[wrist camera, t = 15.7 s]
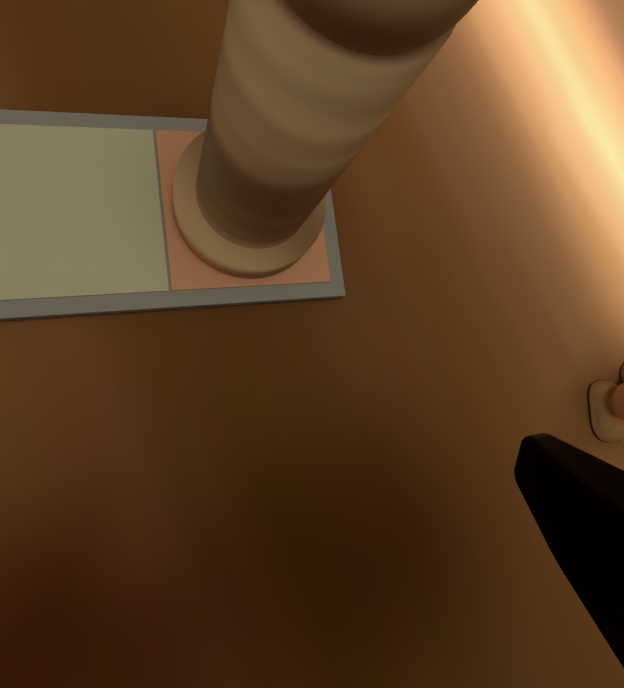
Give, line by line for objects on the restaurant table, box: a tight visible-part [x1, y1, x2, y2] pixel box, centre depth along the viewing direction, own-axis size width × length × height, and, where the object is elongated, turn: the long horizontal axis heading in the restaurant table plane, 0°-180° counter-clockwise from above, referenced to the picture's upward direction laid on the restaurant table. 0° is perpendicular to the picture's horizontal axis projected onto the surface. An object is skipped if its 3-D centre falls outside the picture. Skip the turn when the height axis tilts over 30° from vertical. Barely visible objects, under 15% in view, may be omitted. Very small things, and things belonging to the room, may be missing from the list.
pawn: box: [172, 0, 478, 279], centre depth 12 cm, size 5×5×13 cm
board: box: [0, 109, 345, 321], centre depth 16 cm, size 18×7×1 cm, turn 98°
